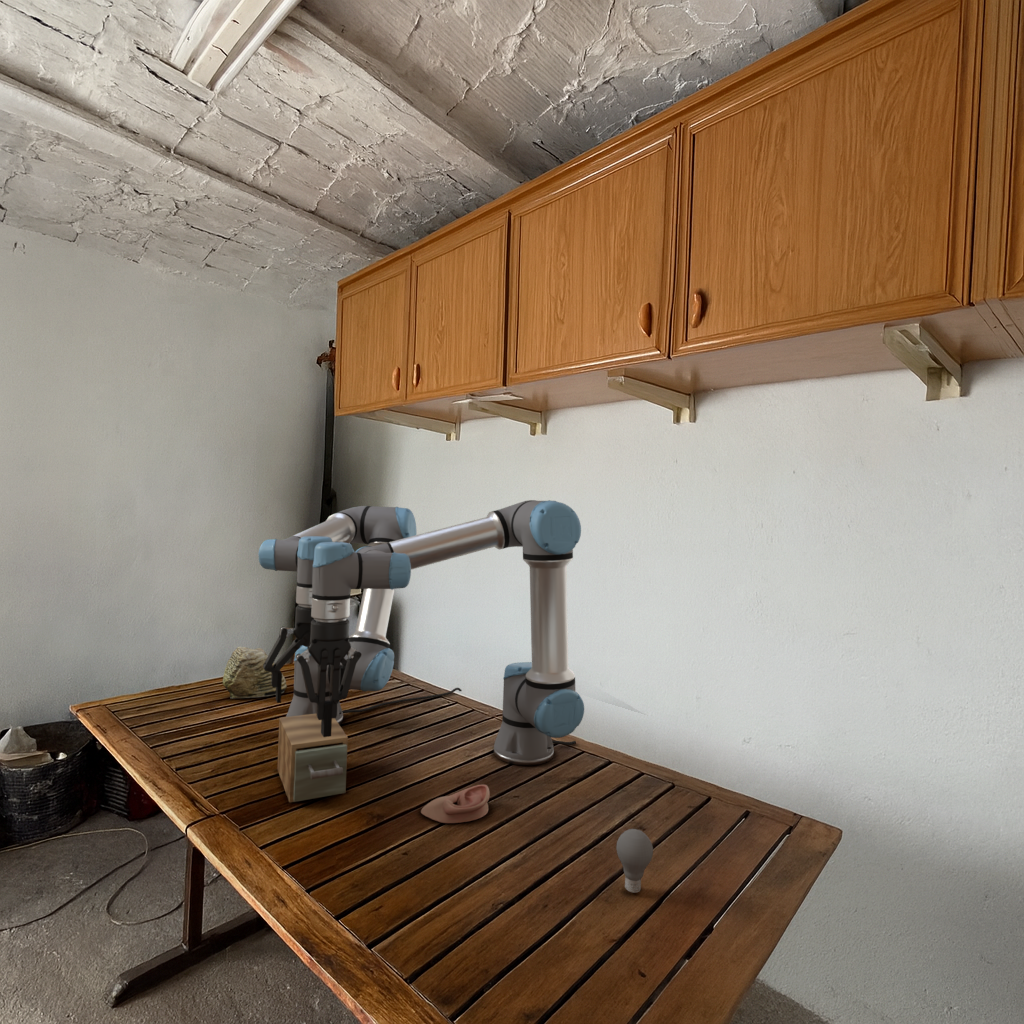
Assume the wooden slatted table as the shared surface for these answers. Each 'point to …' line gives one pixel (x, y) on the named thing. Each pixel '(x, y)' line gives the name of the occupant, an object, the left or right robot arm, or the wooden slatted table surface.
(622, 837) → the light bulb
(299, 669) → the left robot arm
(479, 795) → the anatomical model
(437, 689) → the wooden slatted table surface
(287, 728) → the cabinet
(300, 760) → the drawer
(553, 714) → the right robot arm
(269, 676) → the fossil
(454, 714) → the wooden slatted table surface
